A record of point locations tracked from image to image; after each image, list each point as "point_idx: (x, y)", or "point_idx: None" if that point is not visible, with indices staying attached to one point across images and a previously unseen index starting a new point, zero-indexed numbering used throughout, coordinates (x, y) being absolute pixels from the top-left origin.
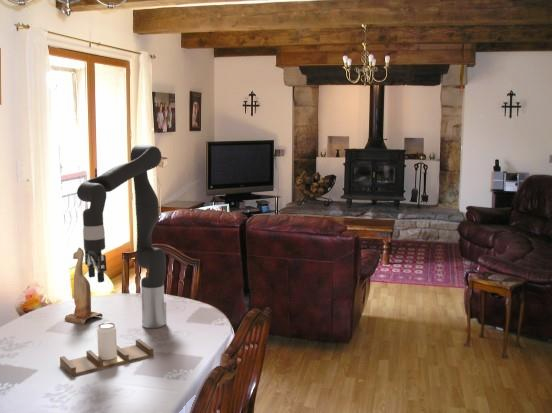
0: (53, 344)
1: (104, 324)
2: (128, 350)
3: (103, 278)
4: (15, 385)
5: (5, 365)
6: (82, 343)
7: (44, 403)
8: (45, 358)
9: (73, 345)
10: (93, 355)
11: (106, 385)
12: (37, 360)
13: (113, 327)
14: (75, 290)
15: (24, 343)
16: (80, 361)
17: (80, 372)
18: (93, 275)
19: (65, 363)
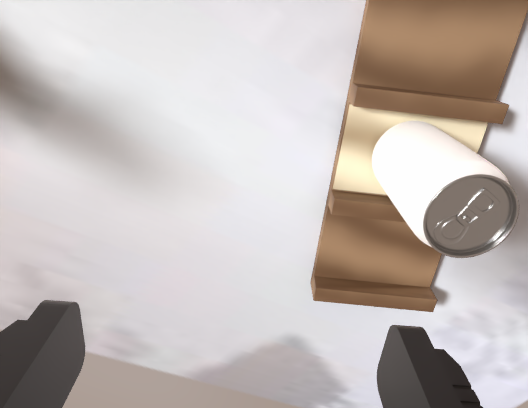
0: (104, 225)
1: (433, 211)
2: (408, 43)
3: (467, 384)
4: (351, 400)
5: (199, 378)
6: (160, 140)
7: (505, 391)
8: (222, 291)
9: (160, 176)
10: (394, 215)
11: None
12: (222, 312)
13: (512, 194)
14: None
15: (37, 289)
16: (356, 240)
17: (433, 273)
18: (69, 329)
19: (372, 303)
